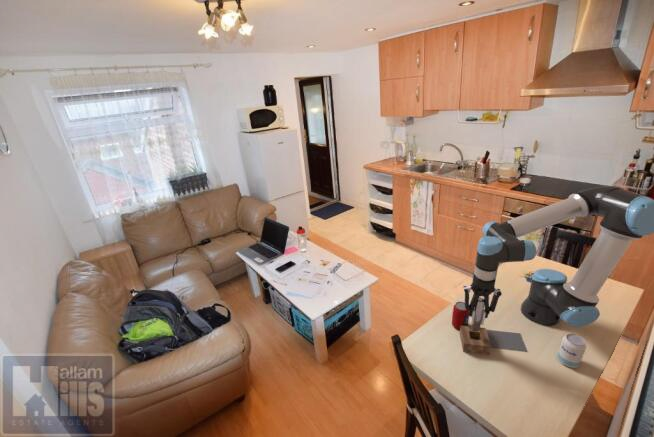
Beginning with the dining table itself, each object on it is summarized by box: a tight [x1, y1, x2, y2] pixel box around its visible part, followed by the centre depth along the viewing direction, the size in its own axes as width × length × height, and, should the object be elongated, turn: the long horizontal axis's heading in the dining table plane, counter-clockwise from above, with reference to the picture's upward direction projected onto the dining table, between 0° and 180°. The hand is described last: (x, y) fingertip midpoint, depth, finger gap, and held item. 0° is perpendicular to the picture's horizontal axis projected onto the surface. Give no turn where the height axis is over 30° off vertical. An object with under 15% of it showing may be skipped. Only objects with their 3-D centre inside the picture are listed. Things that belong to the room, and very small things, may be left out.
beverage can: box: [451, 301, 470, 331], centre depth 134 cm, size 7×7×12 cm
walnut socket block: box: [459, 325, 492, 356], centre depth 126 cm, size 10×10×5 cm
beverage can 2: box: [556, 333, 587, 369], centre depth 113 cm, size 7×7×12 cm
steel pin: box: [471, 296, 485, 331], centre depth 120 cm, size 3×3×15 cm
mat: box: [486, 329, 529, 353], centre depth 127 cm, size 14×10×1 cm
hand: (476, 322), depth 122 cm, fingers closed on steel pin, 3 cm apart
